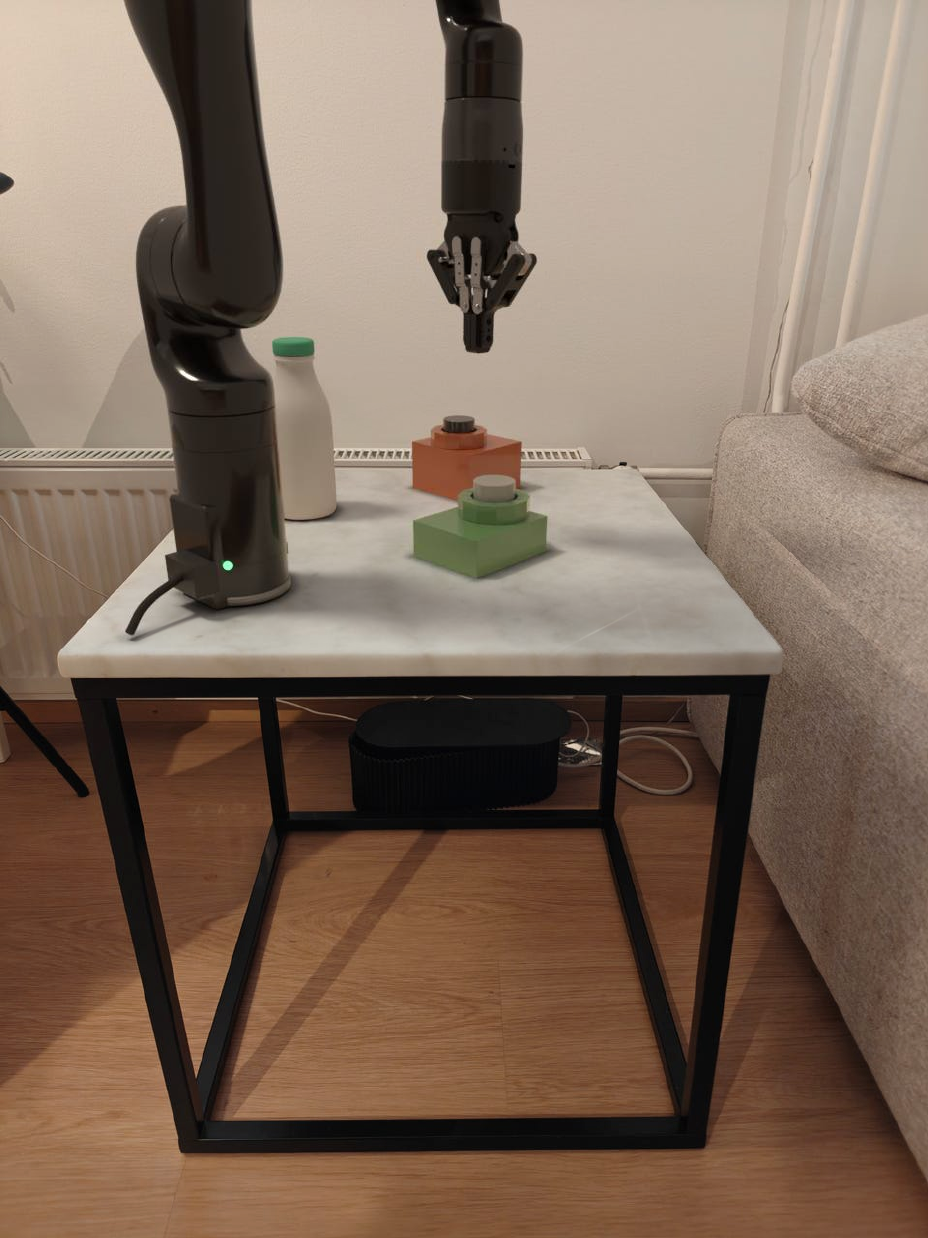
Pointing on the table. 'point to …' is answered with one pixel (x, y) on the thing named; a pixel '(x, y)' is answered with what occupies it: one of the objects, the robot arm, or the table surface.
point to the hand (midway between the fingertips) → (478, 351)
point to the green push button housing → (481, 535)
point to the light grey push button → (494, 488)
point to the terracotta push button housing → (462, 460)
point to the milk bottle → (303, 432)
